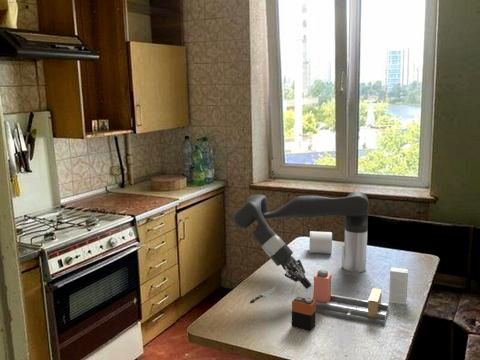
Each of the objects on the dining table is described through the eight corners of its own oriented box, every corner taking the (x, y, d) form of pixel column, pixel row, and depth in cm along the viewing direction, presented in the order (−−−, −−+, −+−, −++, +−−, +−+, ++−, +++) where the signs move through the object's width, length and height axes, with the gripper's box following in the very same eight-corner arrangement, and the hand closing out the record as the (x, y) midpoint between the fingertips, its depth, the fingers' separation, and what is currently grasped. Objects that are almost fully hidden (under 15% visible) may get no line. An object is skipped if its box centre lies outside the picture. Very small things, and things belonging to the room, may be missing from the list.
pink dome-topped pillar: (313, 303, 164) (313, 273, 161) (316, 297, 168) (317, 268, 166) (327, 305, 162) (328, 275, 159) (330, 300, 166) (331, 270, 164)
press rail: (306, 311, 161) (306, 290, 160) (315, 297, 172) (315, 278, 171) (384, 325, 151) (385, 304, 150) (388, 309, 162) (389, 289, 160)
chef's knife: (283, 288, 182) (277, 285, 184) (283, 285, 182) (277, 283, 183) (256, 305, 167) (249, 303, 168) (256, 303, 166) (249, 300, 168)
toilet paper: (309, 255, 215) (309, 235, 213) (309, 248, 225) (310, 228, 223) (331, 256, 213) (332, 236, 212) (331, 249, 223) (331, 229, 221)
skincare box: (406, 299, 169) (408, 268, 167) (406, 305, 165) (408, 273, 163) (388, 297, 171) (390, 266, 169) (388, 302, 167) (390, 271, 165)
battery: (310, 332, 147) (311, 302, 145) (290, 327, 151) (291, 298, 149) (315, 326, 151) (316, 297, 149) (296, 321, 154) (296, 293, 152)
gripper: (276, 249, 176) (307, 285, 173) (263, 261, 164) (296, 300, 161) (289, 238, 173) (321, 274, 170) (277, 249, 161) (311, 288, 158)
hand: (309, 286), depth 166 cm, fingers closed
